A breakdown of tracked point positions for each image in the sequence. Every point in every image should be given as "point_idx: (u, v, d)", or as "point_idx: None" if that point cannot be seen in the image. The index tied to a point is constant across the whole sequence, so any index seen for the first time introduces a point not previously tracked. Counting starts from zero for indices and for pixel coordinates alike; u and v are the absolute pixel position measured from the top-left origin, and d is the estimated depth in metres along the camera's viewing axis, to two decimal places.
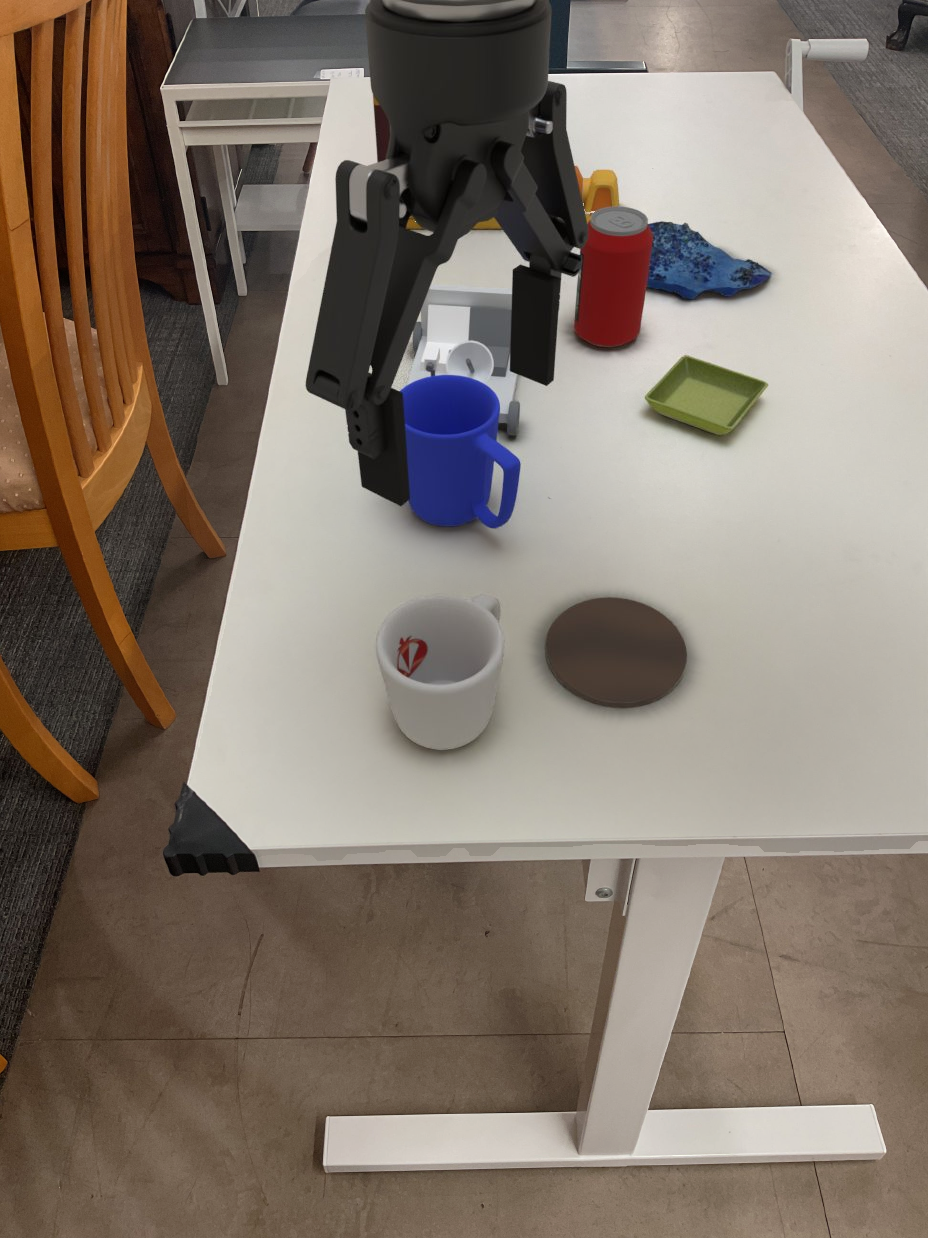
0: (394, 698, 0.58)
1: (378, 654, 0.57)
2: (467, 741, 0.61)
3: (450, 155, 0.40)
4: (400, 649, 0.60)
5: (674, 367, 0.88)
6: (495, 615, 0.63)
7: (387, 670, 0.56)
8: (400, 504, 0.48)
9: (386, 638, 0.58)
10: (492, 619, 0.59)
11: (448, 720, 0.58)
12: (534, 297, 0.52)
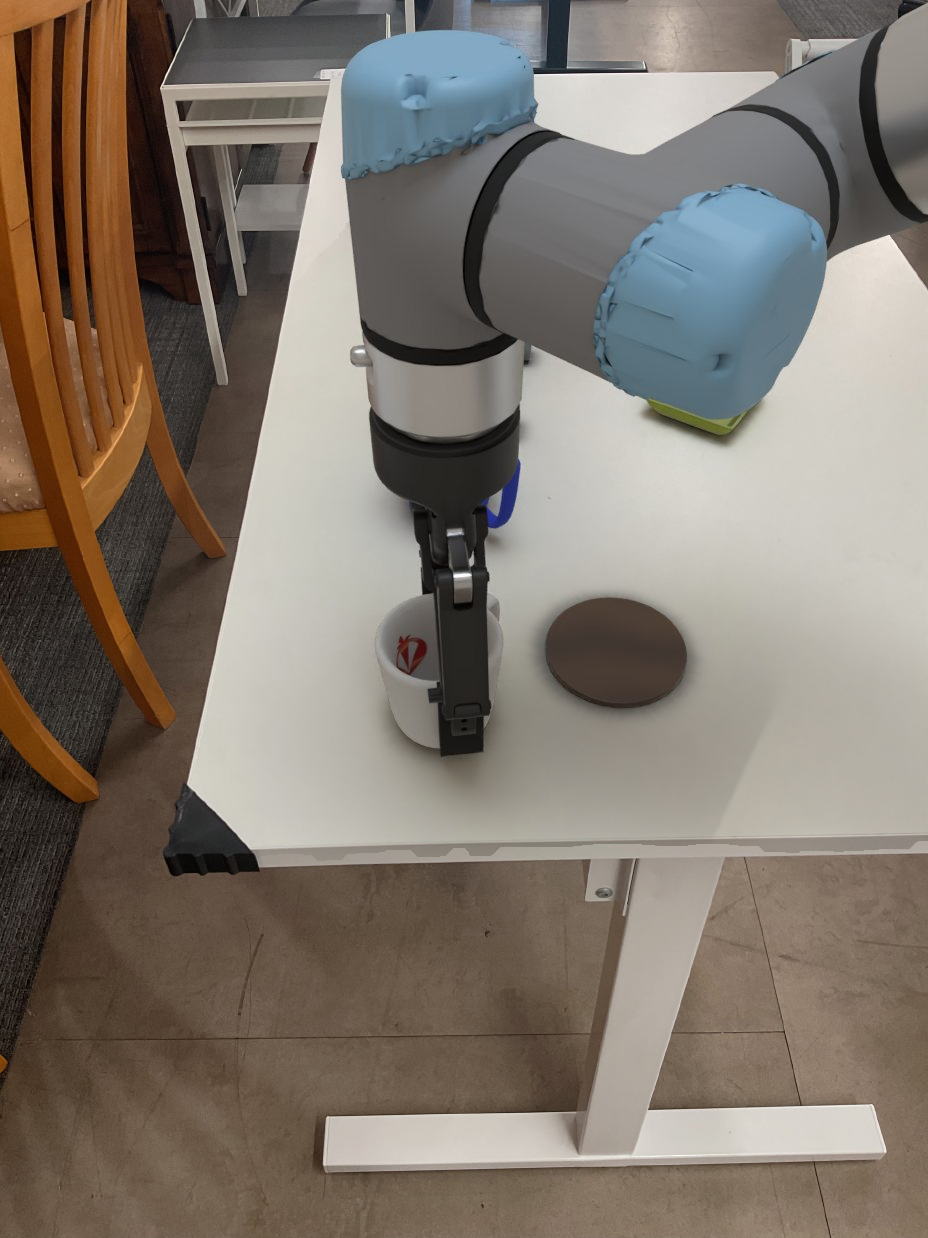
0: (393, 696, 0.58)
1: (377, 651, 0.57)
2: None
3: None
4: (399, 648, 0.60)
5: None
6: (494, 614, 0.63)
7: (386, 667, 0.56)
8: (482, 750, 0.59)
9: (385, 636, 0.58)
10: (491, 617, 0.59)
11: None
12: None
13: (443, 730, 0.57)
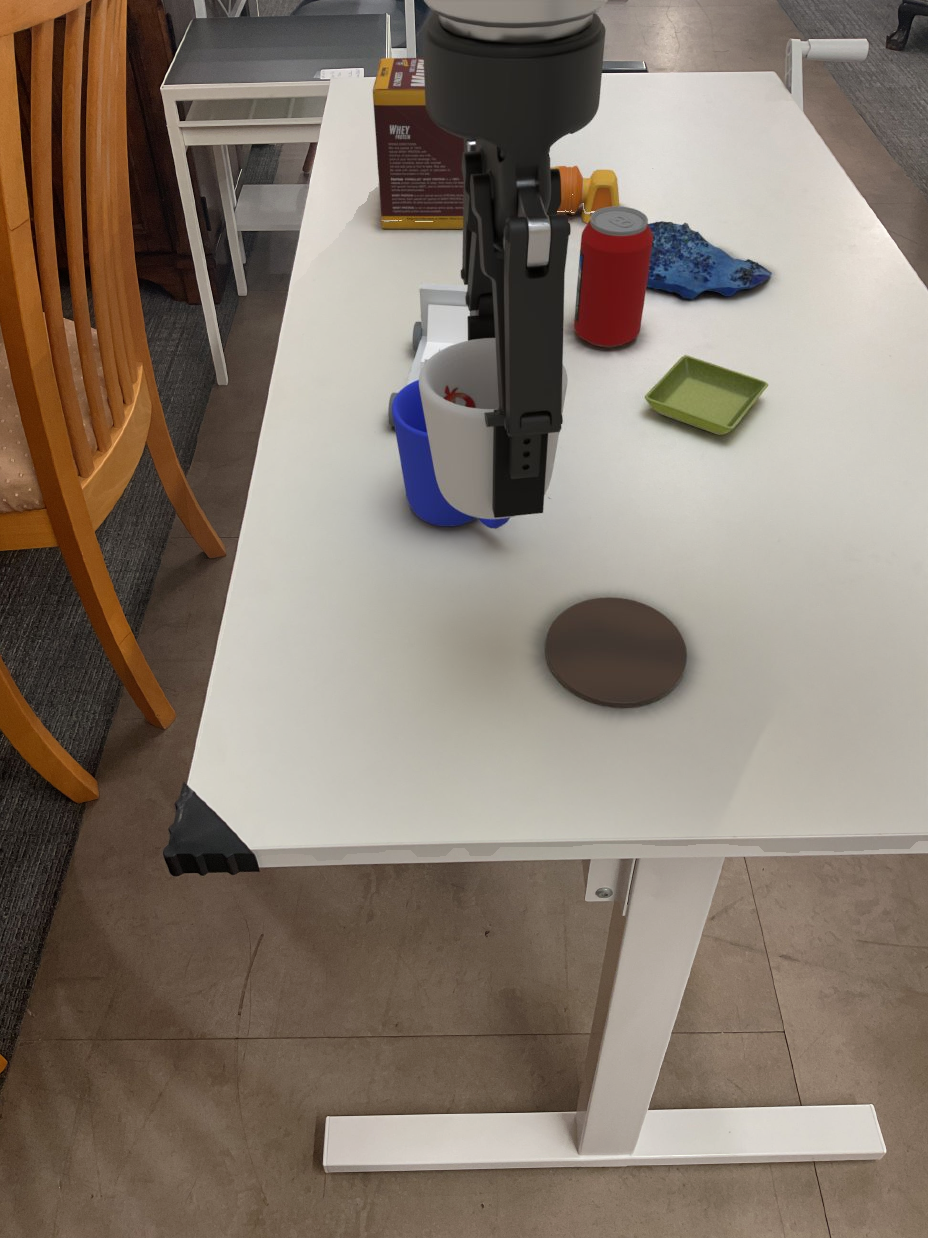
0: (440, 443, 0.50)
1: (422, 386, 0.49)
2: None
3: None
4: (445, 400, 0.53)
5: (674, 367, 0.88)
6: None
7: (433, 399, 0.48)
8: (542, 511, 0.51)
9: (430, 376, 0.51)
10: None
11: None
12: None
13: (499, 478, 0.49)
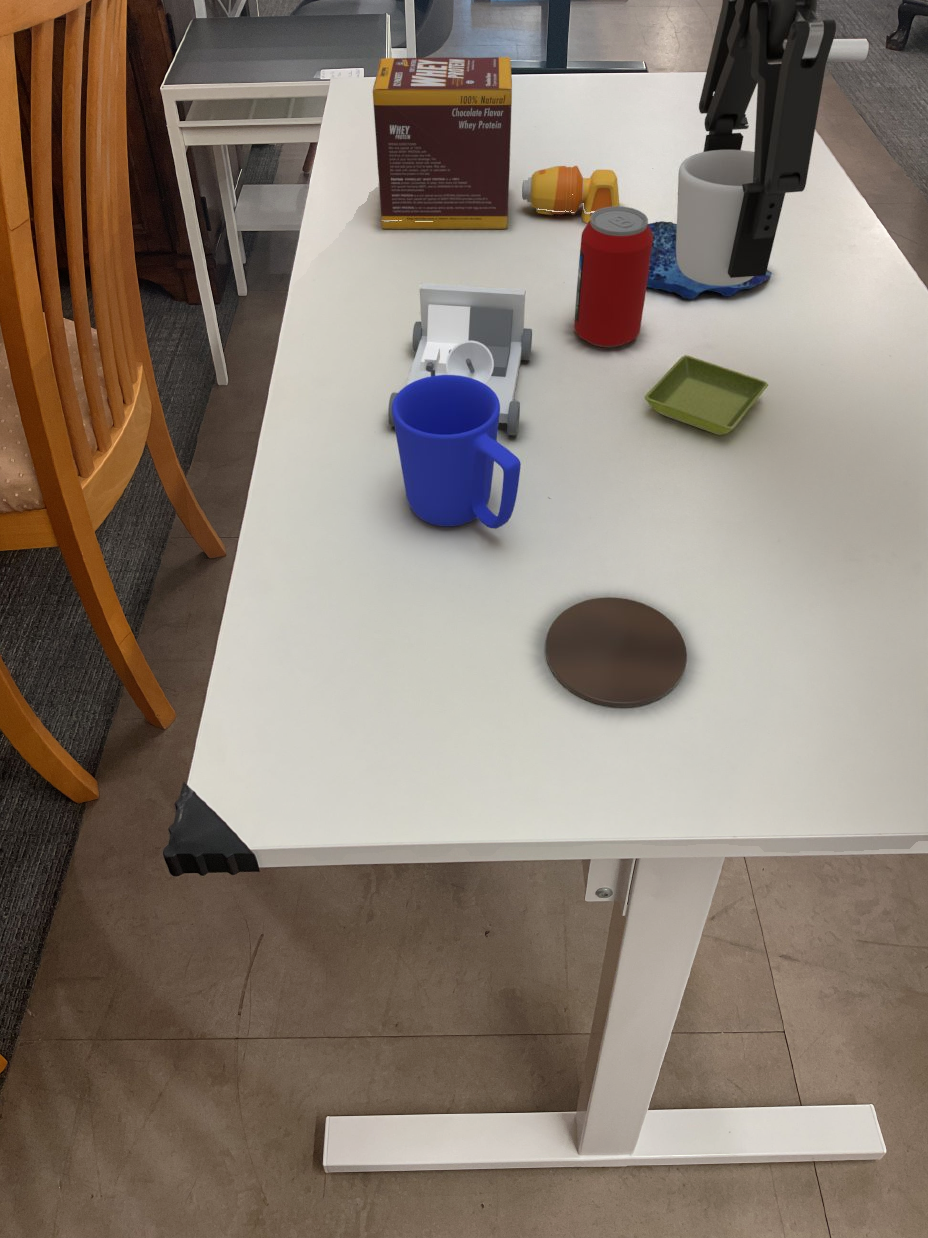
0: (695, 219, 0.69)
1: (685, 175, 0.68)
2: None
3: None
4: None
5: (674, 367, 0.88)
6: None
7: (696, 181, 0.67)
8: (765, 273, 0.70)
9: (687, 171, 0.69)
10: None
11: None
12: None
13: (741, 242, 0.68)
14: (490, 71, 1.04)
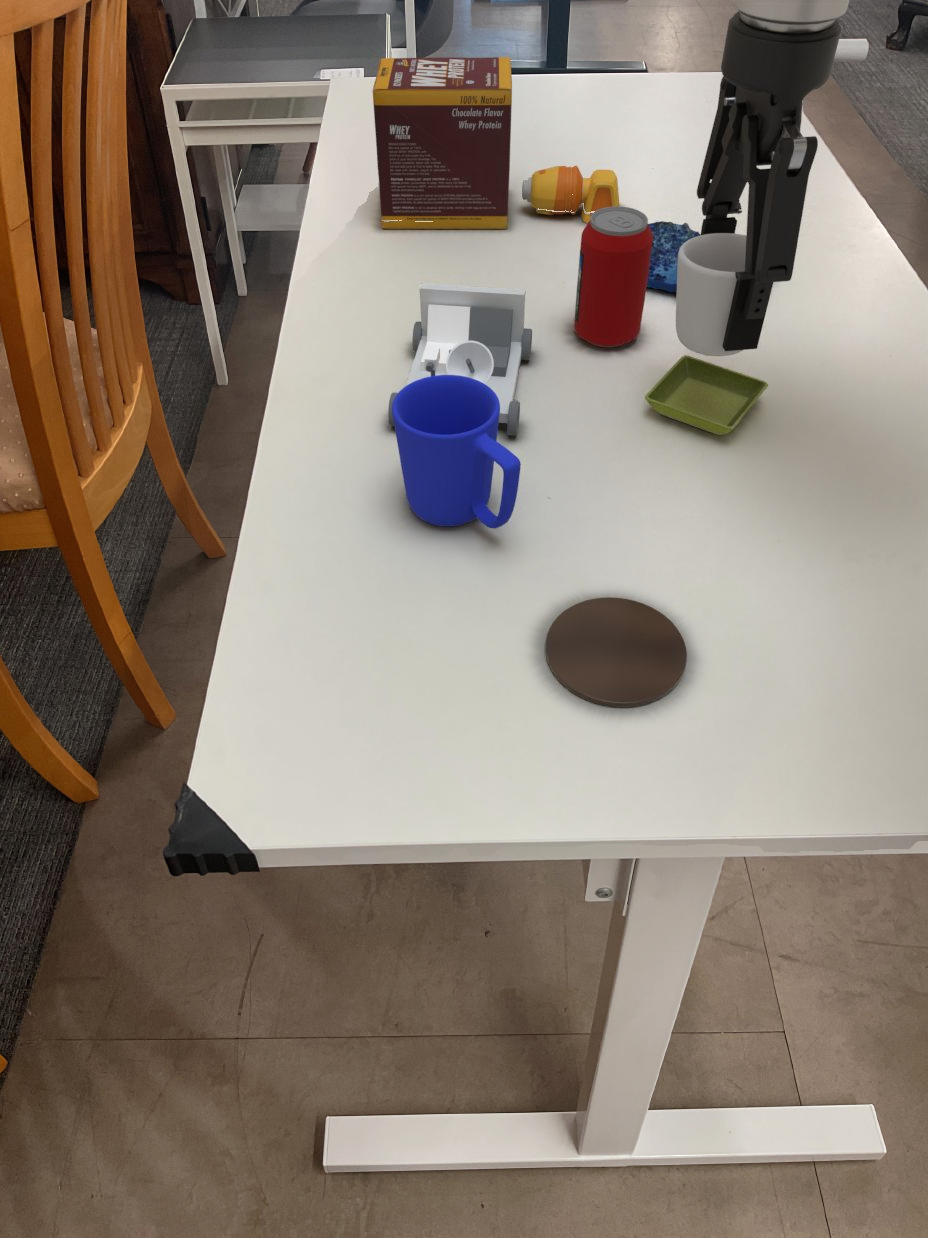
0: (692, 299, 0.76)
1: (684, 260, 0.75)
2: None
3: None
4: None
5: (674, 367, 0.88)
6: None
7: (693, 266, 0.74)
8: (756, 347, 0.77)
9: (685, 255, 0.76)
10: None
11: None
12: None
13: (734, 320, 0.75)
14: (490, 71, 1.04)
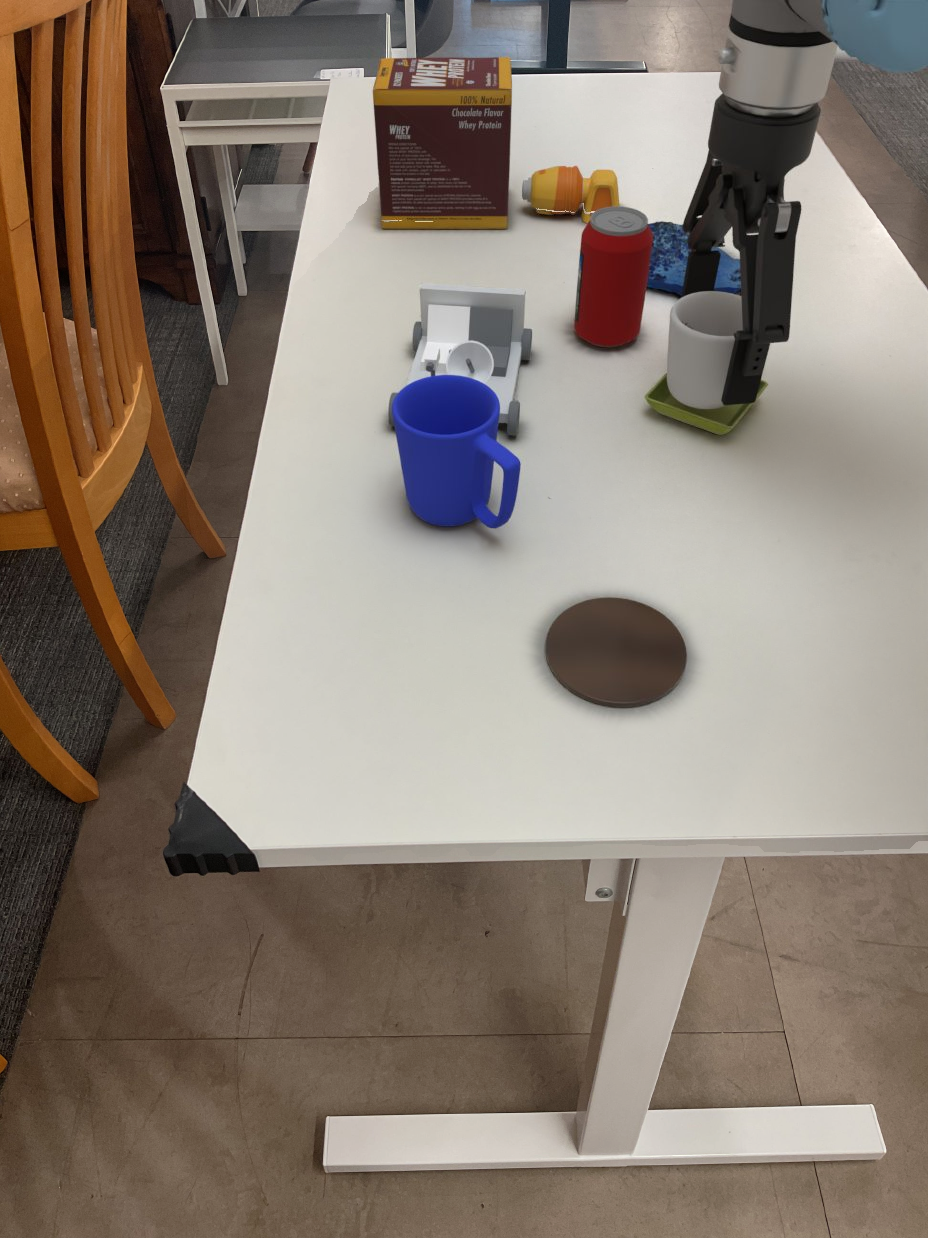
0: (683, 358, 0.80)
1: (675, 321, 0.79)
2: None
3: None
4: None
5: None
6: None
7: (684, 329, 0.78)
8: (754, 401, 0.79)
9: (677, 314, 0.80)
10: None
11: (723, 372, 0.79)
12: (705, 267, 0.84)
13: (732, 376, 0.76)
14: (490, 72, 1.04)
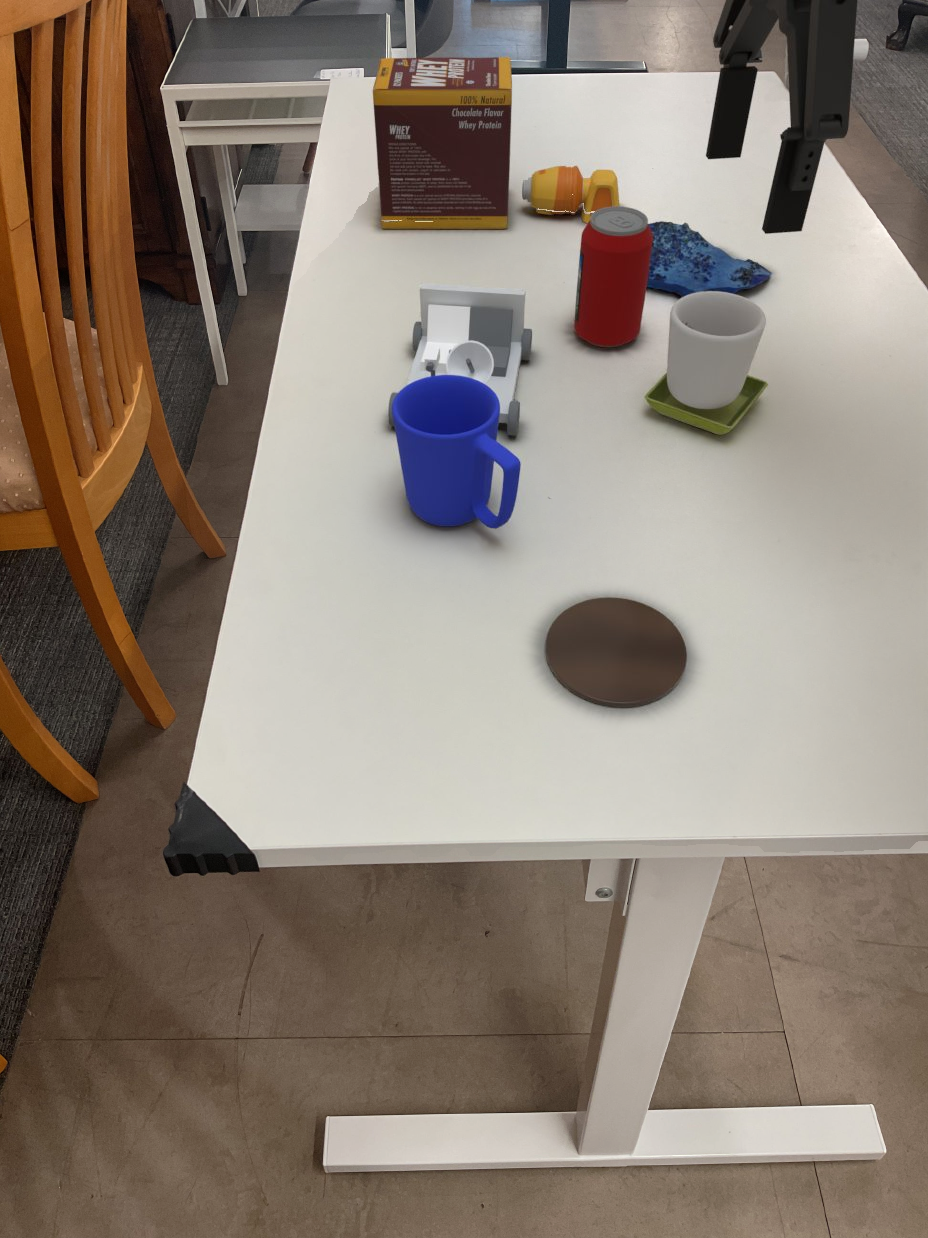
0: (683, 357, 0.80)
1: (675, 321, 0.79)
2: (727, 401, 0.82)
3: None
4: None
5: None
6: None
7: (684, 329, 0.78)
8: (801, 229, 0.67)
9: (677, 314, 0.80)
10: (753, 303, 0.80)
11: (723, 372, 0.79)
12: (739, 86, 0.73)
13: (777, 194, 0.65)
14: (490, 71, 1.04)
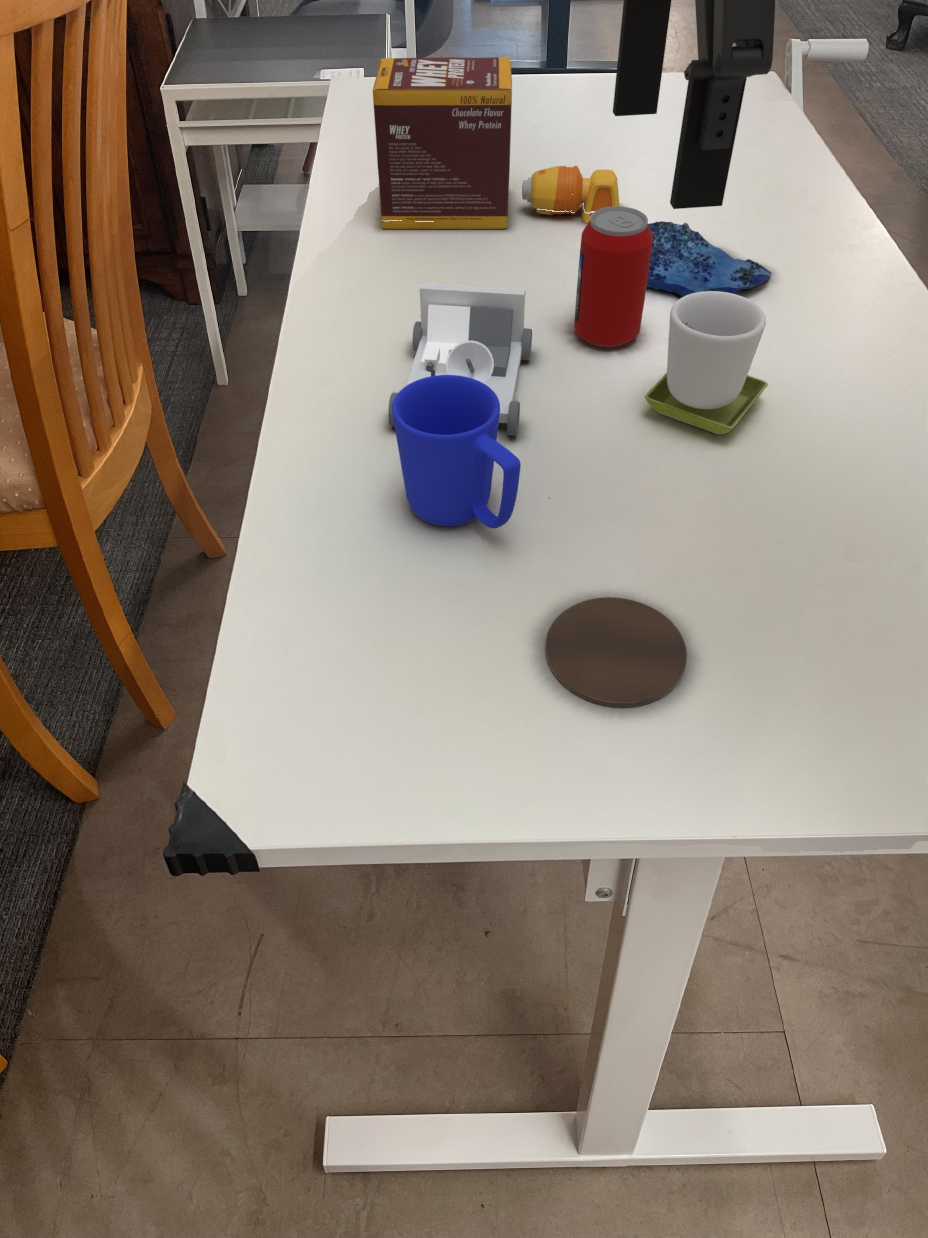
0: (683, 357, 0.80)
1: (675, 321, 0.79)
2: (727, 401, 0.82)
3: None
4: None
5: None
6: None
7: (684, 329, 0.78)
8: (721, 203, 0.51)
9: (677, 314, 0.80)
10: (753, 303, 0.80)
11: (723, 372, 0.79)
12: (650, 19, 0.56)
13: (686, 156, 0.49)
14: (490, 72, 1.04)
